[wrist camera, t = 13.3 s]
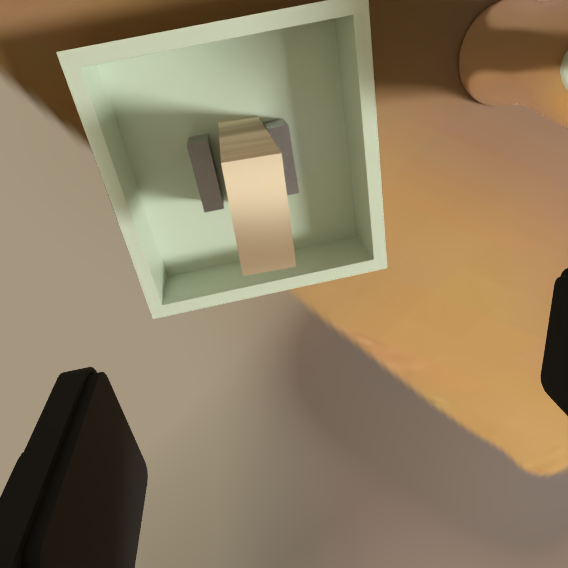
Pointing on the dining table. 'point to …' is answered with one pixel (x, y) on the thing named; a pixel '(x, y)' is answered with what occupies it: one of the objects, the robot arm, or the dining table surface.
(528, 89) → the metal tumbler
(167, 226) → the pale green prong tray
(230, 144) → the upright wooden plank
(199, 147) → the wick clip
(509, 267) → the dining table surface
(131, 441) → the robot arm
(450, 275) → the dining table surface
